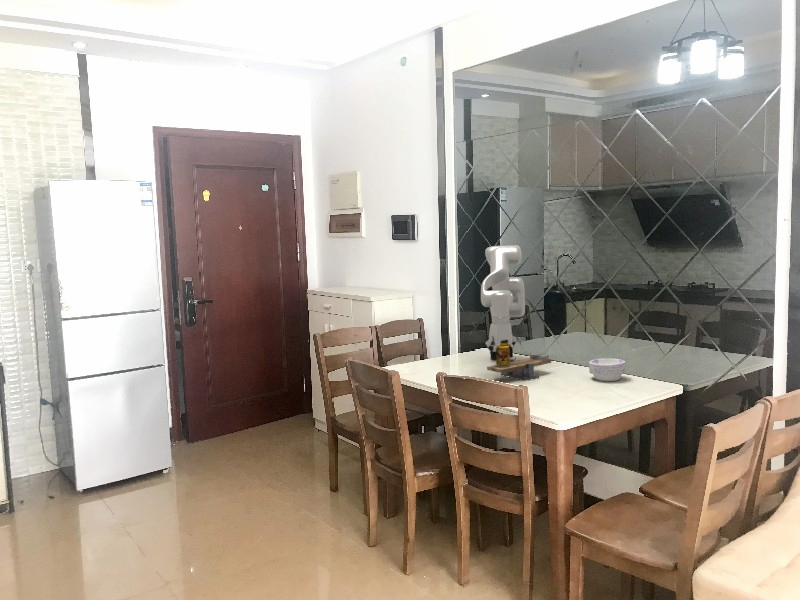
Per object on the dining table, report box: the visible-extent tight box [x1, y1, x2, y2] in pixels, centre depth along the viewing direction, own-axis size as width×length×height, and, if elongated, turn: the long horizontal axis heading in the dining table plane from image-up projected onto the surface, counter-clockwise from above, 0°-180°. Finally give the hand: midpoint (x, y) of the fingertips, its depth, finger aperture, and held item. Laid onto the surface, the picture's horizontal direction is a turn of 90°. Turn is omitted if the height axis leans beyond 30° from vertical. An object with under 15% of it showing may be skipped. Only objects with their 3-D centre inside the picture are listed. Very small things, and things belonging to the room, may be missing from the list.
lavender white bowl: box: [588, 358, 627, 382], centre depth 282 cm, size 15×15×8 cm
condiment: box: [489, 340, 512, 368], centre depth 288 cm, size 7×8×12 cm
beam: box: [486, 352, 552, 374], centre depth 294 cm, size 10×30×4 cm, turn 124°
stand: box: [500, 359, 540, 381], centre depth 295 cm, size 16×8×7 cm, turn 34°
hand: (501, 358), depth 288 cm, fingers open, 9 cm apart
